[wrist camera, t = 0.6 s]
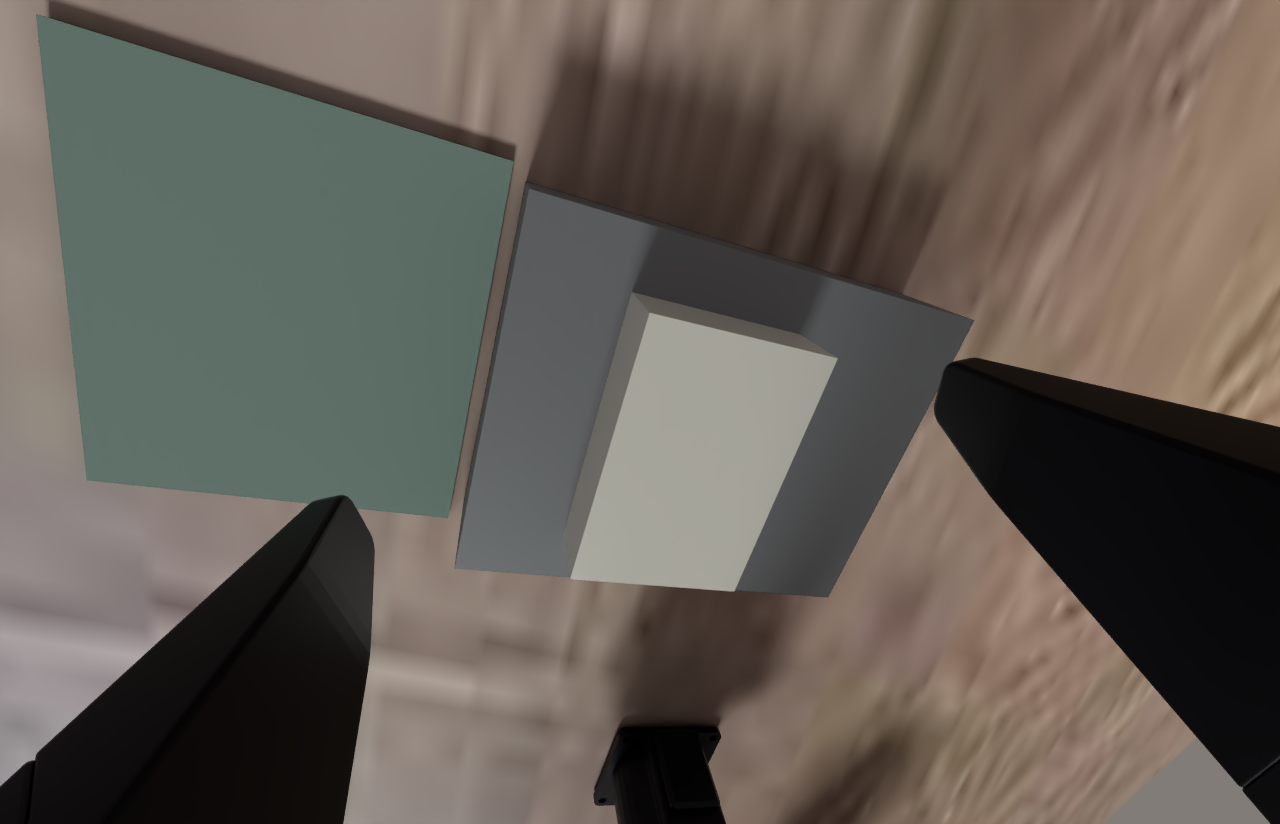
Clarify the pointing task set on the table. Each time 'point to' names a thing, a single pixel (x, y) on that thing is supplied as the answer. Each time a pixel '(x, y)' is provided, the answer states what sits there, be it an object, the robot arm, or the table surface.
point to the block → (690, 446)
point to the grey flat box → (712, 281)
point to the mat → (264, 281)
